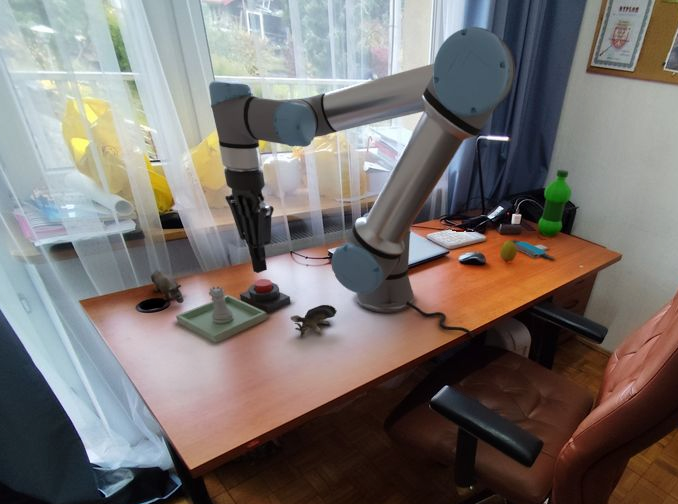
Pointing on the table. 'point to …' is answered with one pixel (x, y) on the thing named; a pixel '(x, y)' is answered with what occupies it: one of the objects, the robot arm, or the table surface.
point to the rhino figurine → (166, 285)
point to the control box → (265, 299)
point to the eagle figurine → (314, 318)
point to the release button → (263, 285)
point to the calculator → (455, 238)
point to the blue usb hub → (532, 250)
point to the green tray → (215, 332)
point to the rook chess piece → (220, 306)
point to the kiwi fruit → (508, 251)
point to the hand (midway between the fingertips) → (260, 270)
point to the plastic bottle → (554, 204)
